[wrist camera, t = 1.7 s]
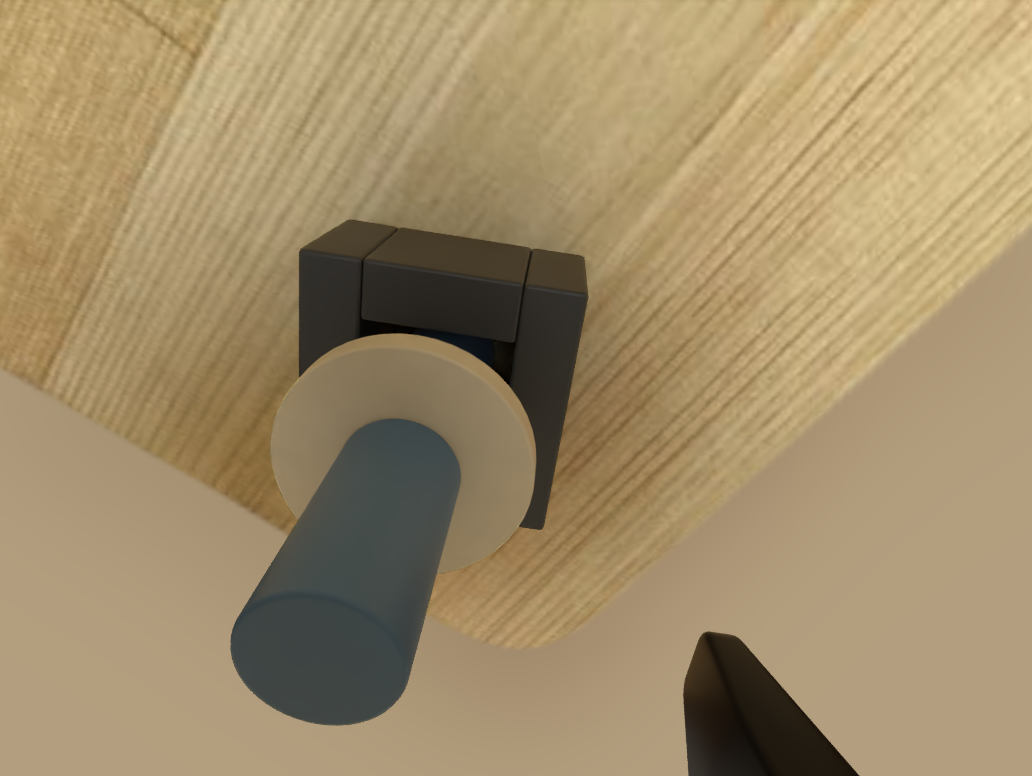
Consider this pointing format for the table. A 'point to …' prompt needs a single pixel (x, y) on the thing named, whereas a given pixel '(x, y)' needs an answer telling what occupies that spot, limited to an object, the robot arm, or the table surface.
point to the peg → (379, 515)
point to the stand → (454, 311)
